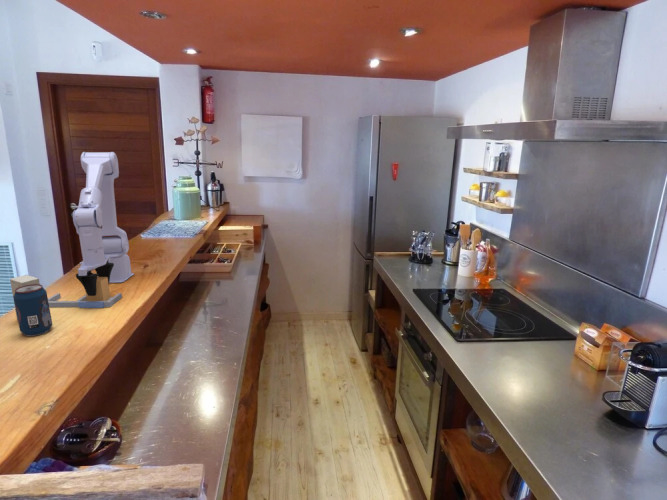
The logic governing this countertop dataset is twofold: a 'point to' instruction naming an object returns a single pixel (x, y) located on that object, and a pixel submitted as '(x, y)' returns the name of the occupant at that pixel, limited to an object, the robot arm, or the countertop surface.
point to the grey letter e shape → (82, 302)
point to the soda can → (32, 309)
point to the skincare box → (22, 282)
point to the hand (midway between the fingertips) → (98, 290)
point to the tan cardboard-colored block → (100, 290)
